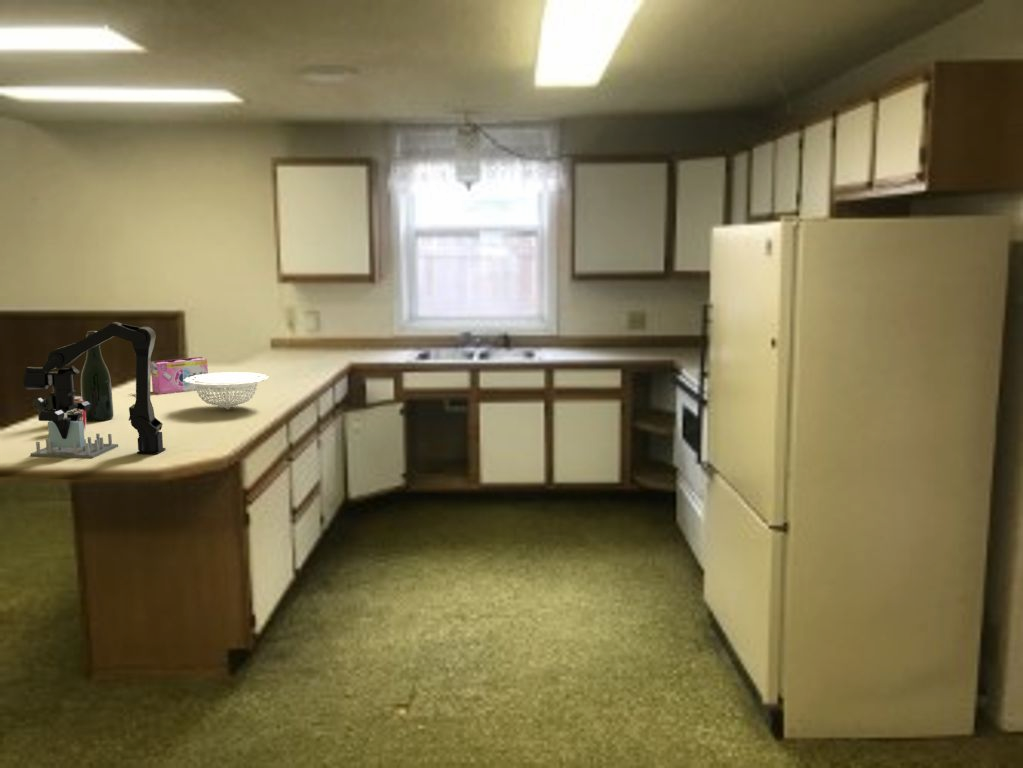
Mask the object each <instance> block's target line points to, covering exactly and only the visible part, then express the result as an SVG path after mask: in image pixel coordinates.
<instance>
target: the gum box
mask: <svg viewBox="0 0 1023 768" xmlns="http://www.w3.org/2000/svg"><path fill="white" fill-rule="evenodd" d="M208 367H209V366H208V359H207V358H203V357H202V356H199V357H196V356H195V357H186V358H185V357H184V358H178V359H177V358H175V359H166V360H165V359H164V360H151V385H152V386H151V387H152V393H155V394H157V395H162V394H163V395H164V394H173V393H180V392H181V393H182V392H188V391H197V389H196V386H195V385H194V384H189V383H186V382H185V381H183V380H184V379H185V378H187V377H190V376H194V375H201V374H205V375H206V374H209V369H208ZM192 380H193V379H192Z"/></svg>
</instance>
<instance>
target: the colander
mask: <svg viewBox="0 0 1023 768" xmlns="http://www.w3.org/2000/svg"><path fill="white" fill-rule="evenodd" d="M269 377H270V376H268V375H266V374H264V373H263V374H262V373H257V372H248V371H244V372H243V371H241V372H239V371H232V372H231V371H227V372H225V371H224V372H213V373H212V372H211V373H210V372H209V373H208V374H206V375H205V374H201V375H194V376H190V377H187V378H185V379H184V380H183V381H185V382H186V383H189V384H194V385H195V386H196V389H197V390H196V393H197V394H198V397H199V398H200V399H201V401H203V402H205V403H206V404H209V405H212V406H218V407H220V408H225V409H226V410H227V409H228V410H230V408H233V407H237V406H238V405H242V404H244V403H248V402H249V401H250V400H252V399H253V397H254V396H255V394H256V391H257V390H258V389H257V386H258V383H260V382H265V380H268V378H269ZM192 379H193V380H192ZM214 393H215V394H214Z"/></svg>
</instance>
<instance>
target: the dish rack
mask: <svg viewBox="0 0 1023 768" xmlns="http://www.w3.org/2000/svg"><path fill="white" fill-rule="evenodd" d="M95 438H96V439H94V442H92V437H91V436H88V437H87V439H86V438H84V440H85V446H84V447H81V448H77V443H73V448H69V447H52V442H49V437H46V438H45V446H46V447H44V448H41V441H36V442H35V447H36V451H33V452H31V453H30V457H45V456H47V457H48V456H49V457H52V458H77V459H78V458H80V459H81V458H82V459H94V458H97V457H98V456H100V455H102V454H105V453H106V452H109V451H111V450H113V449H116V448H119V444H118V443H113V440H112V433H107V438H108V439H107V440H108V443H104V437H101V436H100V433H96V434H95ZM47 457H46V458H47Z"/></svg>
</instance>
